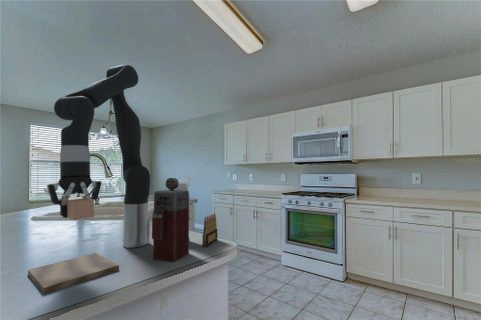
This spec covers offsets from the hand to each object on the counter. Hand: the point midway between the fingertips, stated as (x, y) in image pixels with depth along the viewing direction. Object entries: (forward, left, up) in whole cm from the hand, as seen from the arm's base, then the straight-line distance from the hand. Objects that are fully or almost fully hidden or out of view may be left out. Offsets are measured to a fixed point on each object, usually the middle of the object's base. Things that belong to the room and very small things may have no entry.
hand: (76, 215), depth 71 cm
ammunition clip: (-45, +13, -17) cm, 50 cm away
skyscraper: (-39, +1, -17) cm, 43 cm away
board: (0, +1, -17) cm, 17 cm away
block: (0, +8, +3) cm, 9 cm away
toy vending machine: (-25, +13, -17) cm, 33 cm away
